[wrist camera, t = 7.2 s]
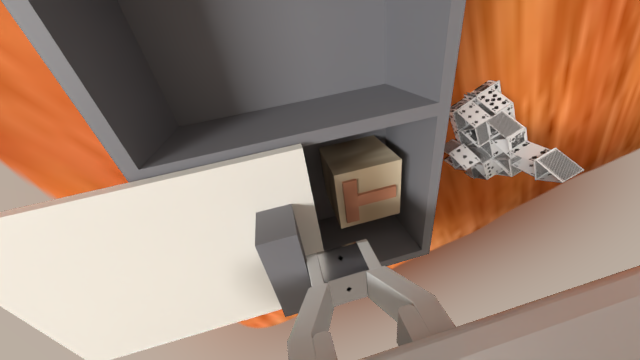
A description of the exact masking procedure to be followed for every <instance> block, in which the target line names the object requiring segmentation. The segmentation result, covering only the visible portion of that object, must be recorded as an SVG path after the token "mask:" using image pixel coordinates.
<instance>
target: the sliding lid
mask: <svg viewBox="0 0 640 360" xmlns="http://www.w3.org/2000/svg"><path fill="white" fill-rule="evenodd" d="M321 251H324V249H323V244H322V239H321V234H320V229H319V225H318V220H317V215H316V210H315V205H314V201H313V196H312V191H311V186H310V181H309V177H308V172H307V167H306V162H305V158H304V153H303V148H302V145H301V143H300V144H296V145H292V146H287V147H283V148H279V149H274V150H270V151H265V152H261V153H257V154H252V155H248V156H243V157H239V158H235V159H230V160H226V161H221V162H217V163H213V164H208V165H204V166H199V167H195V168H191V169H186V170H182V171H178V172H173V173H169V174H164V175H160V176H156V177H151V178H147V179H142V180H138V181H134V182H129V183H125V184H120V185H116V186H112V187H107V188H103V189H98V190H94V191H90V192H85V193H81V194H77V195H72V196H68V197H63V198H59V199H55V200H50V201H46V202H42V203H37V204H33V205H28V206H24V207H19V208H15V209H11V210H6V211H2V212H0V306H1V307H3V308H4V309H6V310H7V311H9V312H11V313H12V314H14V315H15V316H17V317H19V318H20V319H21V320H23V321H25V322H26V323H28V324H30V325H31V326H33V327H34V328H36V329H38V330H39V331H41V332H42V333H44V334H45V335H47V336H48V337H50V338H52V339H53V340H55V341H57V342H58V343H60V344H61V345H63V346H64V347H66V348H68V349H69V350H71V351H72V352H74V353H75V354H77V355H79V356H80V357H82V358H83V359H85V360H112V359H115V358H118V357H122V356H125V355H128V354H132V353H135V352H139V351H142V350H145V349H149V348H152V347H155V346H159V345H162V344H166V343H169V342H172V341H176V340H179V339H182V338H186V337H189V336H192V335H196V334H199V333H203V332H206V331H209V330H213V329H216V328H219V327H223V326H226V325H229V324H233V323H236V322H240V321H243V320H246V319H250V318H253V317H257V316H260V315H263V314H267V313H270V312H273V311H277V310H280V309H282V310H283V312H284V314H285V317H287V316H290V315H293V314H297V313H299V311H300V308H301V306H302V303H303V301H304V298H305V296H306V293H307V291H308V288H310V287H312V286H311V281H310V276H309V271H308V266H307V262H306V255H310V254H314V253H316V254H317V252H321Z"/></svg>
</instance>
